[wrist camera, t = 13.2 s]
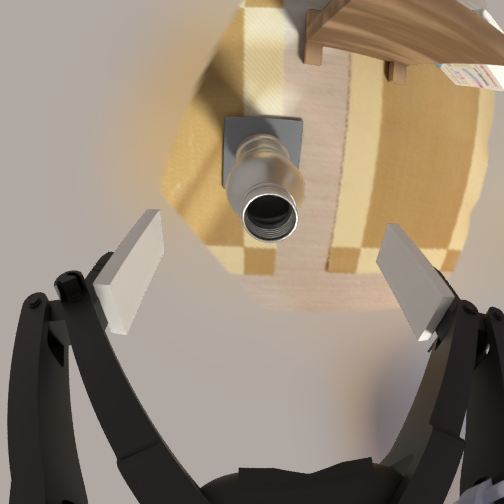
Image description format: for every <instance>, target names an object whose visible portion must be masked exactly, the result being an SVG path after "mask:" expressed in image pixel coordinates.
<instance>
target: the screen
mask: <svg viewBox="0 0 504 504" xmlns="http://www.w3.org/2000/svg"><path fill="white" fill-rule="evenodd" d="M323 46H325V47H330V48H335V49H340V50H345V51H349V52H354V53H358V54H362V55H366V56H370V57H373V58H377V59H380V60H384V61H387V62H389V75H388V81H389V82H392V83H395V84H398V85H405V80H406V66H409V65H423V64H453V63H457V64H487V65H499V66H504V34H503V33H502V32H501V31H499V30H498V29H497V28H496V27H494V26H493V25H492V24H490V23H489V22H488V21H486V20H485V19H483V18H482V17H480V16H479V15H478V14H476V13H475V12H473V11H472V10H470V9H469V8H467V7H465V6H464V5H462V4H461V3H459V2H457V1H456V0H331V1H330V2H329V3H328V5H327V6H326V7H325V8H324V9H323V10H322V11H320V10H314V9H308V10H307V11H306V28H305V47H304V63H303V64H310V65H317V66H320V65H321V64H322V48H323Z"/></svg>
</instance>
